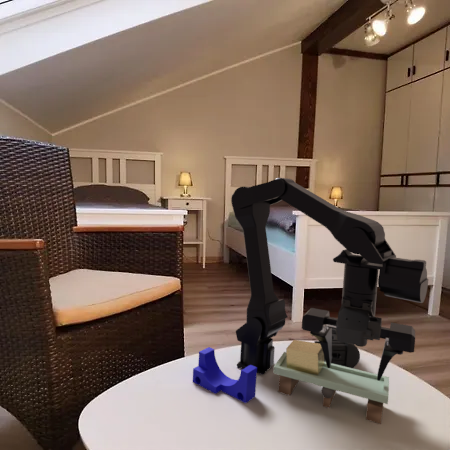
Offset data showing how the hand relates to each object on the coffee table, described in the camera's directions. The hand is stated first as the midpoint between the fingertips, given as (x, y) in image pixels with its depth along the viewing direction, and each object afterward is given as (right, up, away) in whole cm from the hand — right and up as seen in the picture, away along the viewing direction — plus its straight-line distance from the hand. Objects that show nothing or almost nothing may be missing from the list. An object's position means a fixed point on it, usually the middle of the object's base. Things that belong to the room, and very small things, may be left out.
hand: (353, 373), depth 67 cm
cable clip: (-24, -5, +4) cm, 25 cm away
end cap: (+2, -5, +18) cm, 18 cm away
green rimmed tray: (-4, -2, +2) cm, 5 cm away
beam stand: (-4, -6, +2) cm, 7 cm away
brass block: (-8, 0, +4) cm, 9 cm away
